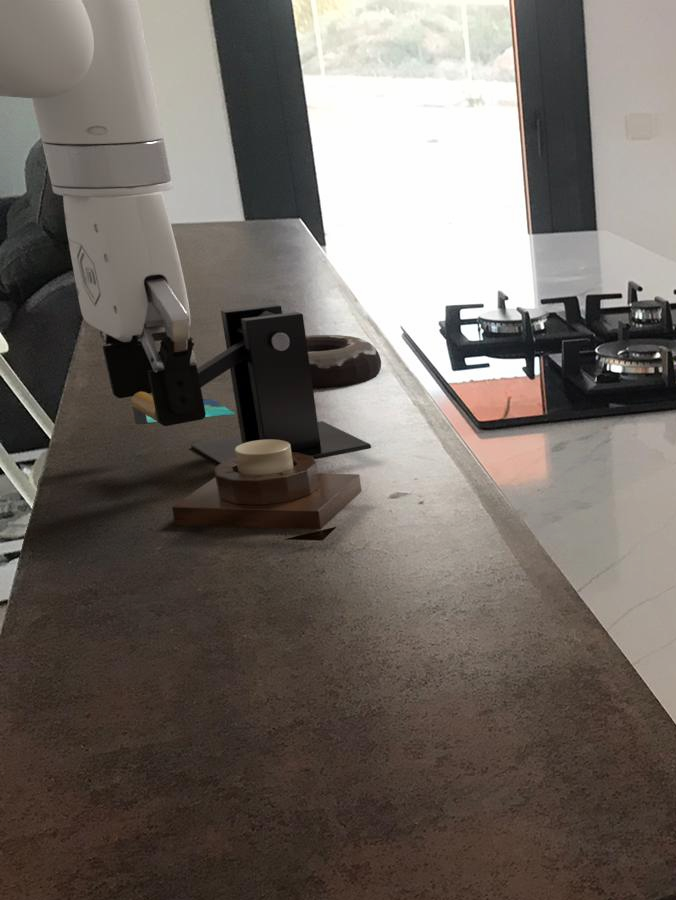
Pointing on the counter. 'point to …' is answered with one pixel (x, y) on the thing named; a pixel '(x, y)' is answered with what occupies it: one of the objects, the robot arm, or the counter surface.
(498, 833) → the counter surface
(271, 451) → the button
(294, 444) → the switch bracket
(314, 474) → the lamp base
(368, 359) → the donut
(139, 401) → the switch lever
